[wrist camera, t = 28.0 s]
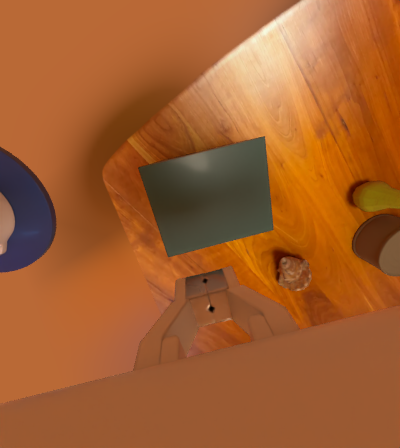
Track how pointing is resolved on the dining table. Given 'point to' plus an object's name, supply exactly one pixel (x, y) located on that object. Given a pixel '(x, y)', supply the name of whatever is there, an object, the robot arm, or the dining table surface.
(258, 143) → the bin lid
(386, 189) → the fruit
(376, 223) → the can
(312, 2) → the dining table surface
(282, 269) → the seashell
